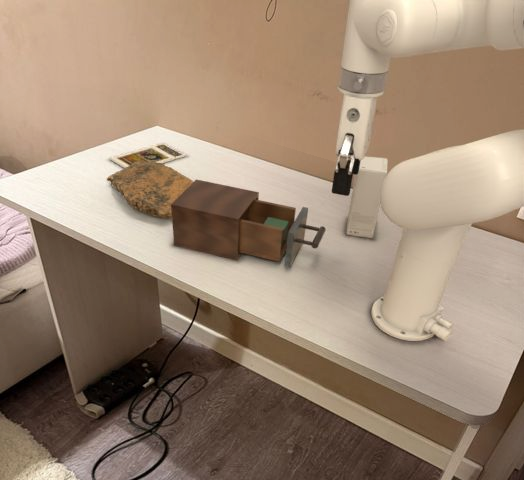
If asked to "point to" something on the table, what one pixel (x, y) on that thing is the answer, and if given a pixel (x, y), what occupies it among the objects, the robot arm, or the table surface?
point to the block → (279, 224)
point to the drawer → (275, 232)
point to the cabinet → (210, 218)
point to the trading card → (148, 155)
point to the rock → (150, 187)
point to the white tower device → (366, 197)
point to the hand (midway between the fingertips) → (345, 183)
